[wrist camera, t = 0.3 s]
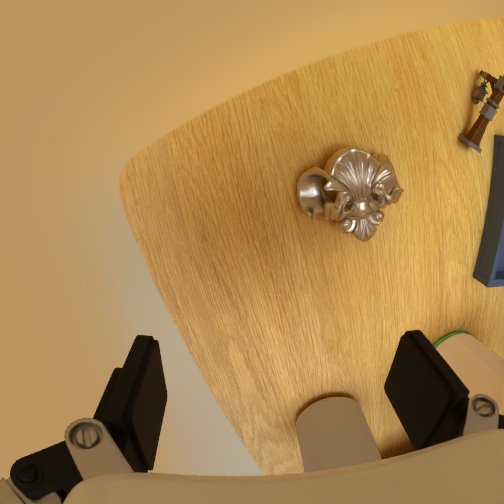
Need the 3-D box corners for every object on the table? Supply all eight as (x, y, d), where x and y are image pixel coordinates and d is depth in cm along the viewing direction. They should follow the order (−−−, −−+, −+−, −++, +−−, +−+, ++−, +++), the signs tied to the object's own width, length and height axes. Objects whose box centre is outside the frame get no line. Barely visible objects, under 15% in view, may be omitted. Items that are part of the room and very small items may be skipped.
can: (371, 401, 31) (408, 483, 19) (329, 438, 33) (351, 518, 21) (323, 383, 29) (355, 480, 18) (280, 424, 31) (295, 516, 20)
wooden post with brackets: (492, 70, 18) (520, 83, 15) (459, 134, 24) (481, 154, 20) (479, 59, 18) (507, 70, 15) (446, 126, 23) (468, 145, 20)
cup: (455, 393, 32) (508, 471, 18) (384, 403, 31) (433, 506, 17) (497, 315, 28) (574, 387, 14) (427, 312, 27) (518, 415, 13)
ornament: (307, 246, 24) (318, 263, 21) (287, 158, 22) (297, 161, 18) (397, 221, 24) (420, 234, 20) (385, 138, 21) (408, 139, 18)
